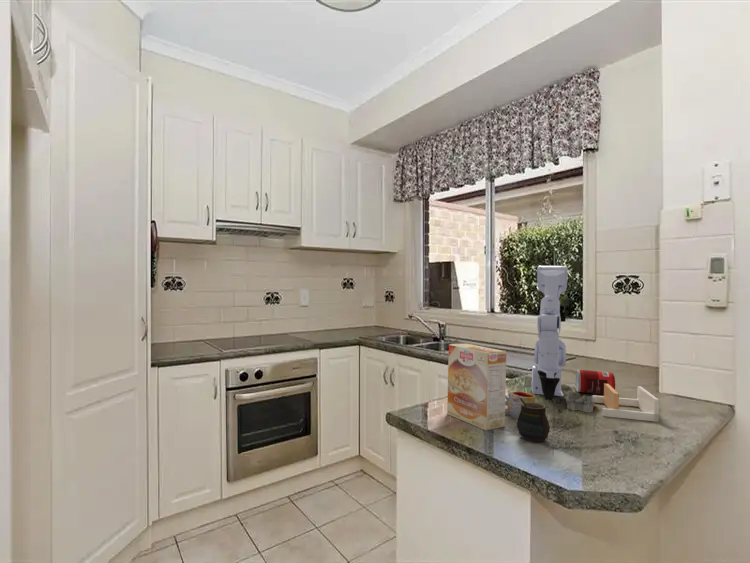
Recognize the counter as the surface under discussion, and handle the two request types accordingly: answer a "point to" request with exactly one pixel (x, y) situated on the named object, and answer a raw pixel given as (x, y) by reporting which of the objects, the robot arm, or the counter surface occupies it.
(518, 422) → the mate gourd
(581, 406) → the egg carton
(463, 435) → the counter surface
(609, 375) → the canned food
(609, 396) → the pusher plate
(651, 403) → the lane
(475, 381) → the coffeecake box
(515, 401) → the mug
